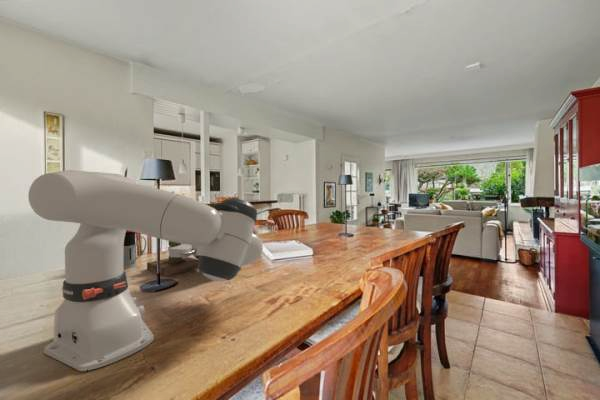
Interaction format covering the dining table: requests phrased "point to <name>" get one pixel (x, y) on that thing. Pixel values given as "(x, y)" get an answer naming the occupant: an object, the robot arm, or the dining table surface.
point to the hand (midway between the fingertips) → (173, 247)
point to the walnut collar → (173, 266)
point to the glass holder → (131, 250)
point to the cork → (174, 260)
